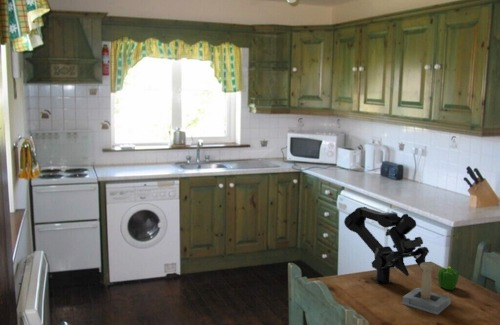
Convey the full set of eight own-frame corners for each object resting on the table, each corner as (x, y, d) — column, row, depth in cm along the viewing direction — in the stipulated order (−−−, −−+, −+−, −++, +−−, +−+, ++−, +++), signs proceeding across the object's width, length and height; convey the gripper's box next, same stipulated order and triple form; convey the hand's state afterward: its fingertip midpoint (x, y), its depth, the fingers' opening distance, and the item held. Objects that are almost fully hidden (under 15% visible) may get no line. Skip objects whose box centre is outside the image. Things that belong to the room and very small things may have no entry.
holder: (402, 303, 200) (402, 296, 199) (416, 294, 209) (416, 287, 209) (437, 314, 190) (437, 307, 190) (450, 304, 200) (450, 296, 200)
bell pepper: (438, 282, 222) (440, 260, 221) (458, 286, 218) (460, 264, 217) (435, 289, 215) (436, 266, 214) (455, 293, 211) (457, 270, 210)
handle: (435, 300, 200) (437, 264, 199) (426, 305, 196) (428, 267, 194) (424, 297, 204) (426, 261, 202) (415, 301, 200) (417, 264, 198)
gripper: (392, 232, 202) (410, 268, 194) (427, 228, 210) (446, 262, 202) (378, 246, 210) (394, 280, 202) (412, 240, 218) (429, 274, 210)
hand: (416, 274), depth 204 cm, fingers open, 9 cm apart
